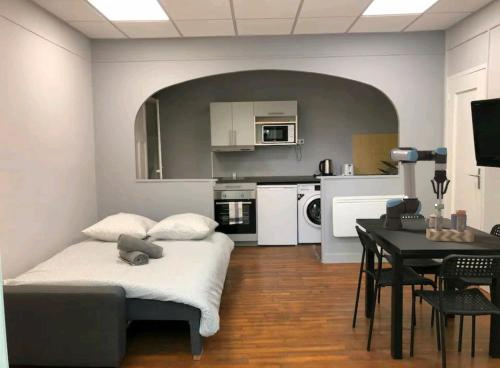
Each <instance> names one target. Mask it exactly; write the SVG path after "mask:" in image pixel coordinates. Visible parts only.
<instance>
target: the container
mask: <svg viewBox="0 0 500 368" xmlns="http://www.w3.org/2000/svg"><path fill="white" fill-rule="evenodd" d="M457 216H459V215H456V213H451V214H450V229H451V230H457ZM467 216H468V215H467V214H466V215H465V216H463V217H465V229H464V230H467V222H468V221H467V220H468V219H467Z"/></svg>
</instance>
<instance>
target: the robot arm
mask: <svg viewBox="0 0 500 368" xmlns="http://www.w3.org/2000/svg"><path fill="white" fill-rule="evenodd" d="M388 157H389V159H390V160H391V161H393V162H397V163H400V165H401V166H402V168H403V169H402V170H403V191H404V192H403V193H404V194H403V195H404V196H403V197H402V198H390V199H388V200H387V201H386V202H385V203H386V204H385V210H386V211H385V221H384V222H383V229H385V230H392V231H401V230H404V229H405V227H404V223H403V220H402V218H403V217H402V216H417V215H419V214H420V213H421V210H422V207H423V206H422V201H421V200H419V197H418V196H417V193H416V190H417V189H416V169H415V167H416V165H417V164H418V162H434V177H433V178H432V179H430V180H429V181H430V183H431V186H432V188H433V189H432V191H433V193H434V194H435V195H436V199H437V204H442V200H443V199H444V195H446V194H447V191H448V188H449V185H450V183H451V179H449V178H448V177H447V163H448V148H447V147H445V146H444V147H442V146H441V147H435V149H434V150H433V149H431V150H428V149H427V150H425V149H424V150H418V149H417V148H416V147H414V146H413V147H412V146H409V147H407V146H405V147H404V146H401V147H400V146H397V147H393V148H391V149H390V150H389V151H388ZM435 183H436V184H435ZM444 185H445V186H444Z"/></svg>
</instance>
